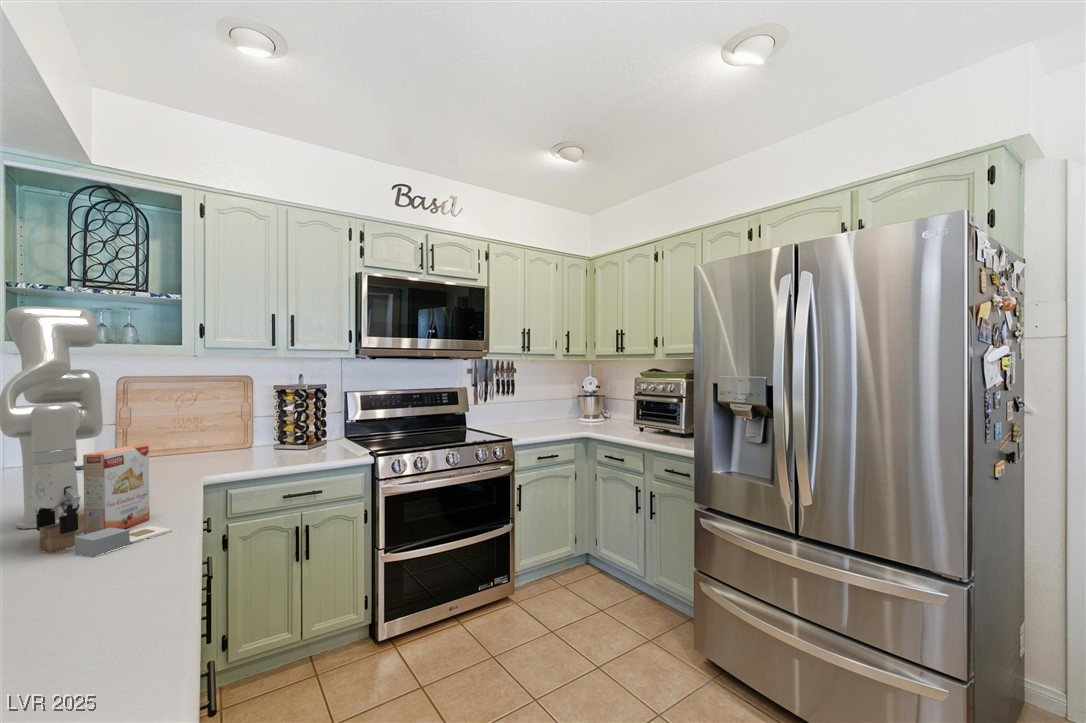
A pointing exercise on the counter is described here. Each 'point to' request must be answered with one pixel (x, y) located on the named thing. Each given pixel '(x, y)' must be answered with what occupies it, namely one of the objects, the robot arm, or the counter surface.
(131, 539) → the tile
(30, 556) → the counter surface
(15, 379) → the robot arm
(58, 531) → the walnut block
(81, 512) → the maple block
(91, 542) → the base block
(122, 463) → the cracker box
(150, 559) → the counter surface
